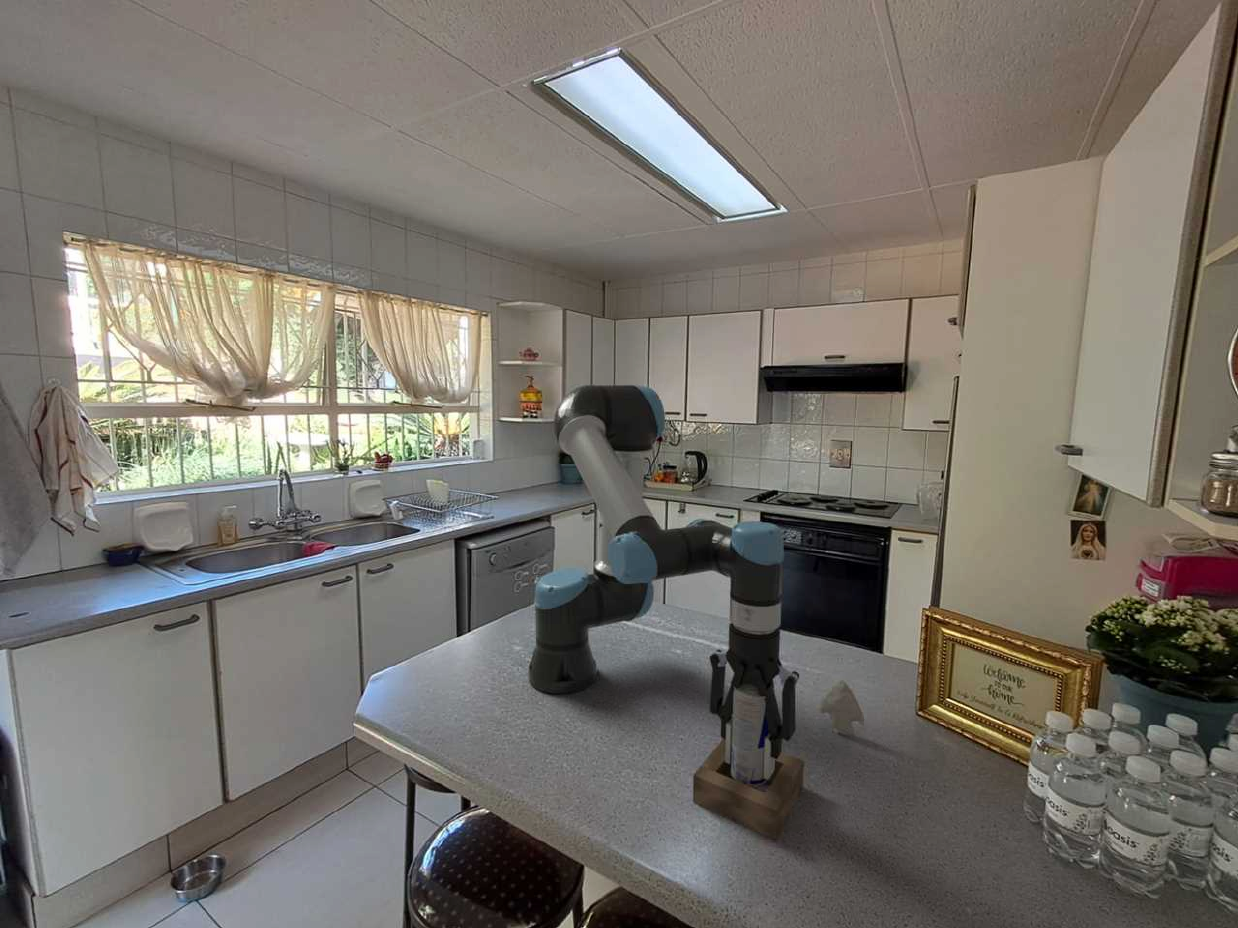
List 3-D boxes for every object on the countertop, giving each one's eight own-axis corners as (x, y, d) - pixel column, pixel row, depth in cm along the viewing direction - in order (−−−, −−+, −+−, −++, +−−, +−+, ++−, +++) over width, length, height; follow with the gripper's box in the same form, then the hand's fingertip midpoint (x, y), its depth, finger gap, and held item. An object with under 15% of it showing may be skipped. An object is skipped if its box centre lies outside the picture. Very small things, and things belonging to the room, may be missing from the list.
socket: (692, 801, 85) (693, 774, 84) (727, 756, 95) (728, 732, 95) (775, 840, 77) (776, 811, 77) (802, 786, 88) (804, 760, 87)
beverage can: (768, 792, 83) (772, 699, 81) (730, 786, 84) (733, 694, 82) (766, 767, 88) (769, 679, 86) (730, 762, 89) (733, 676, 87)
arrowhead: (865, 736, 101) (868, 685, 100) (861, 744, 99) (864, 691, 98) (820, 721, 106) (823, 672, 104) (816, 728, 103) (819, 678, 102)
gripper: (688, 618, 85) (685, 756, 88) (809, 650, 75) (802, 805, 78) (709, 603, 91) (706, 733, 94) (824, 631, 81) (816, 775, 84)
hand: (749, 765), depth 86 cm, fingers closed on beverage can, 6 cm apart
